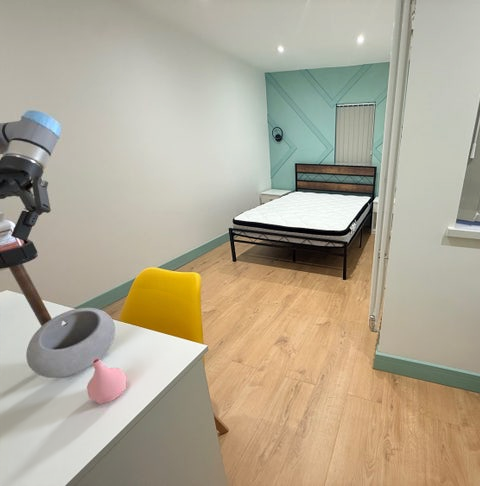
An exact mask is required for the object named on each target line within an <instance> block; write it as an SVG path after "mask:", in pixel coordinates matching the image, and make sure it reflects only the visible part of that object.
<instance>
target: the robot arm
mask: <svg viewBox="0 0 480 486" xmlns="http://www.w3.org/2000/svg"><path fill="white" fill-rule="evenodd" d="M61 132H62V125H61V124H60V123H59V121H57V120H56V119H54V118H53V117H52V116H50V115H49V114H47V113H45V112H42V111H40V110H39V111H38V110H27V111H25V112H24V114H22V115H21V116H20V120H16V121H9V122H1V123H0V155H2V156H1V157H0V200H5V199H6V198H9V197H10V198H11V197H17V198H18V197H19V199H20V200H21V202H22V204H23V206H24V208H23V209H24V210H21V212H20V214H19V217H18V219H17V221H16V224H15V228H14V230H13V232H12V235H11V236H12V237H15V238H18V239H21V240H23V241H24V240H27V239H29V236H30V234H31V231H32V229H33V227H34V226H35V225H36V224H37V221H38V219H39V216H41V215H42V214H43V213H46V214H49V213H51V204H50V198H49V194H48V186H49V181H47V180H45V179H44V178H42V177H43V175H44V173H45V172H44V170H45V169H46V167H47V165H48V162H49V159H50V157H51V156H52V154H53V152H54V150H55V147H56V145H57V143H58V141H59V139H60V136H61V135H60V134H61Z"/></svg>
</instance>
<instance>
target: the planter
mask: <svg viewBox="0 0 480 486" xmlns="http://www.w3.org/2000/svg"><path fill="white" fill-rule="evenodd" d="M63 322H64V324H63ZM115 337H116V326H115V322H114V320H113V318H112V317H111V316H110V315H109V313H107V312H105V311H104V310H101V309H99V308H95V307H79V308H75V309H70V310H68V311H65V312H63V313H60V314H58V315H56V316H55V317H53V318H52V319H51V320H49V321H48V322H47V323H45V324H44V325H43V326H40V327H39V328H38V329H37V331H36V332H35V333H34V334H33V335H32V337H31V339H30V340H29V342H28V345H27V348H26V354H25V355H26V357H25V358H26V362H27V365H28V367H29V369H30V370H31V371H33V372H34V373H35V374H36V375H38V376H40V377H43V378H49V379H59V378H61V379H62V378H65V377H70V376H73V375H76V374H78V373H81V372H83V371H85V370H86V369H88V368H89V367H91V366H93V364H92V361H93V360H94V359H96V358H100V360H101V359H102V358H103V357H104V356H105V354H106V353H107V352H108V351H109V350H110V348H111V346H112V344H113V343H114V340H115Z"/></svg>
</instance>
